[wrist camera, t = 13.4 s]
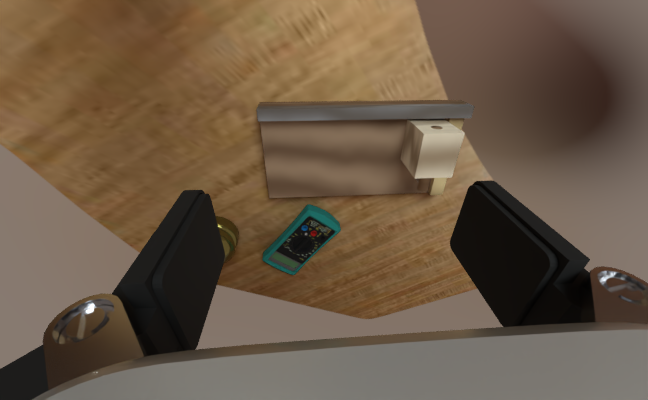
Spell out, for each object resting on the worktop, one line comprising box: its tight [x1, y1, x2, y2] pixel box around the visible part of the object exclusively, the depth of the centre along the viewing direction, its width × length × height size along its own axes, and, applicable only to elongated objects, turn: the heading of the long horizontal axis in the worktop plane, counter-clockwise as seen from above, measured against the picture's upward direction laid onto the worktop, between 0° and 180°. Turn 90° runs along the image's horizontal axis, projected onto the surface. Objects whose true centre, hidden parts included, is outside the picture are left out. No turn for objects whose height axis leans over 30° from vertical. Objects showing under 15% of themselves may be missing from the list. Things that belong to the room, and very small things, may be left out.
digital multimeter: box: [262, 204, 341, 275], centre depth 49 cm, size 7×15×3 cm, turn 140°
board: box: [256, 100, 474, 198], centre depth 40 cm, size 14×28×4 cm, turn 90°
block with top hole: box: [401, 118, 465, 192], centre depth 37 cm, size 9×5×6 cm, turn 0°
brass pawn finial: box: [215, 216, 239, 263], centre depth 44 cm, size 7×8×10 cm
